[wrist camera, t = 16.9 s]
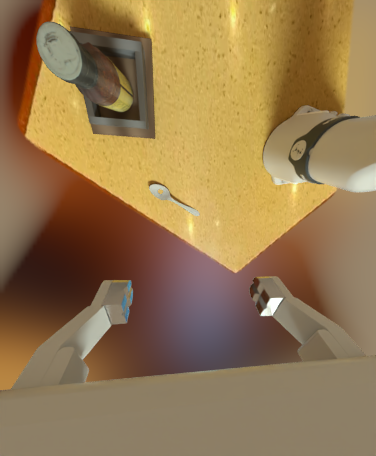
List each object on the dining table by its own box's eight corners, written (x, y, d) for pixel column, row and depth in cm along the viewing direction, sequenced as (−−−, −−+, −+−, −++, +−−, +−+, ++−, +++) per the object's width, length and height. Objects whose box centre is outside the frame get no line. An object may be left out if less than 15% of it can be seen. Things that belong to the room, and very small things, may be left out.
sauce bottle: (102, 69, 29) (5, -28, 12) (135, 79, 30) (88, 4, 13) (104, 110, 32) (29, 79, 15) (134, 118, 34) (95, 97, 17)
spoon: (153, 178, 42) (152, 179, 41) (209, 213, 49) (210, 215, 48) (146, 190, 44) (145, 192, 42) (201, 223, 51) (202, 225, 50)
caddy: (151, 42, 29) (148, 26, 25) (155, 138, 37) (153, 138, 33) (73, 30, 27) (56, 12, 23) (95, 133, 35) (85, 133, 31)
